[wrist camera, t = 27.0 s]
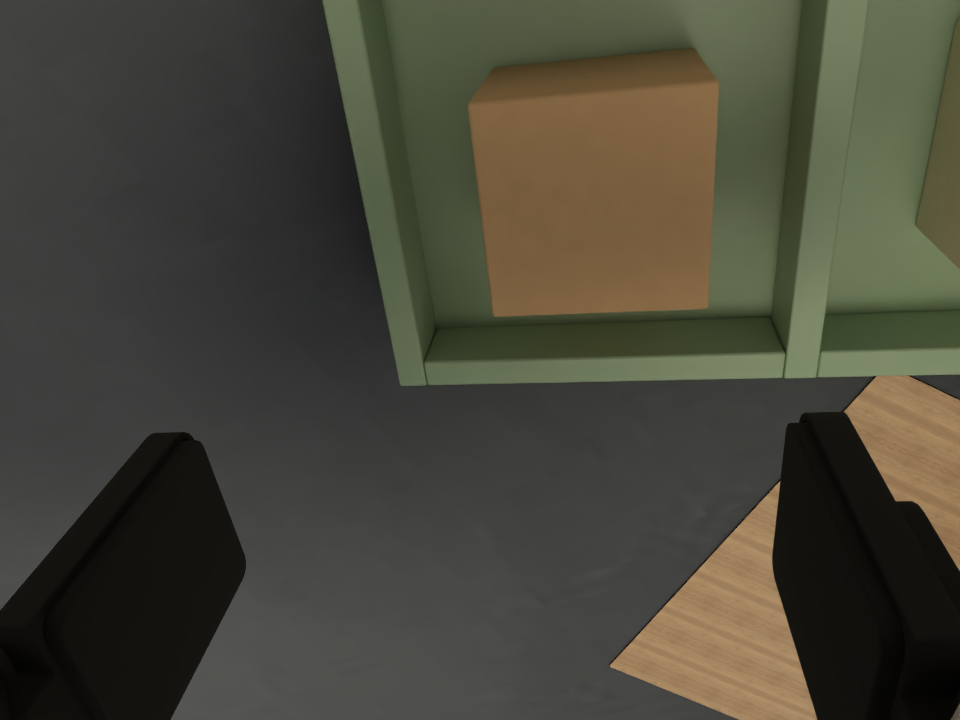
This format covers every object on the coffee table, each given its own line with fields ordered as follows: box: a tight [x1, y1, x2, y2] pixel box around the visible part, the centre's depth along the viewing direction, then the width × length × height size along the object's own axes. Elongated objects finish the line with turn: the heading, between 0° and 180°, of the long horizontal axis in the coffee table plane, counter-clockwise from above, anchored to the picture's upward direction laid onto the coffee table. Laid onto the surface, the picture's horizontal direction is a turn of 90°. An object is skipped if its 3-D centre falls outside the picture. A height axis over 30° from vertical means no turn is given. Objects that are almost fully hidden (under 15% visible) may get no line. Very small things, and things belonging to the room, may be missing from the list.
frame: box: [322, 0, 960, 386], centre depth 17 cm, size 21×11×3 cm, turn 97°
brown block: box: [468, 48, 719, 317], centre depth 17 cm, size 5×5×4 cm
